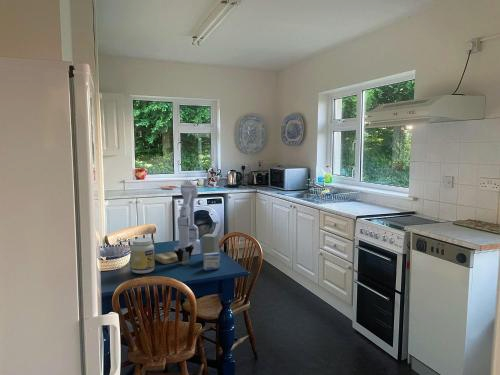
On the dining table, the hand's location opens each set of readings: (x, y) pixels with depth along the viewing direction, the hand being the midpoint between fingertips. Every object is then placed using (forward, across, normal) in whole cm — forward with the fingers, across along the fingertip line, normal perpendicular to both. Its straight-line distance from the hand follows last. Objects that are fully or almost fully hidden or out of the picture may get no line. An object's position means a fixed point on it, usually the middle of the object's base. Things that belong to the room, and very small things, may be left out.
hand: (184, 260), depth 219 cm
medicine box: (+2, 0, +19) cm, 19 cm away
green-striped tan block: (+2, 0, -13) cm, 13 cm away
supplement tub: (+2, +22, -10) cm, 24 cm away
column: (+2, 0, 0) cm, 2 cm away
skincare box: (+2, -12, +10) cm, 16 cm away
